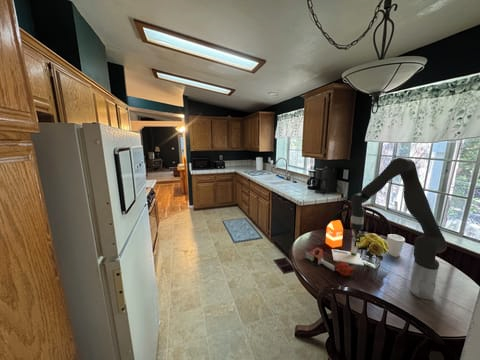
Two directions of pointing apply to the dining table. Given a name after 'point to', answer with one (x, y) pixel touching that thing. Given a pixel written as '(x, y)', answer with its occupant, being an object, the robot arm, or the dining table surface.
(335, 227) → the orange juice
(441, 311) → the dining table surface
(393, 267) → the dining table surface
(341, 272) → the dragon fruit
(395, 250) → the foam cup
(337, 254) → the paper sheet
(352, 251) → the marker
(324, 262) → the tape dispenser
